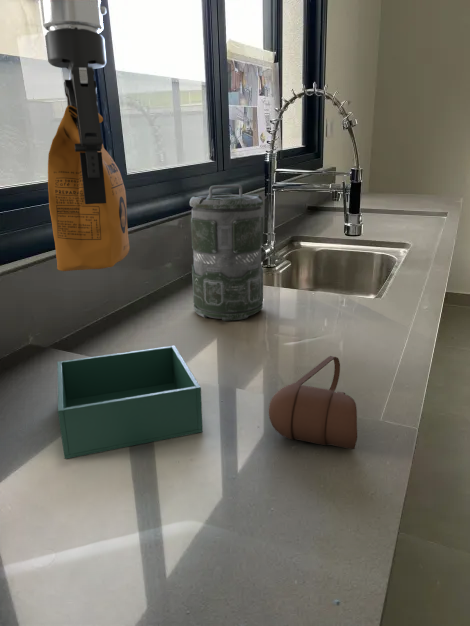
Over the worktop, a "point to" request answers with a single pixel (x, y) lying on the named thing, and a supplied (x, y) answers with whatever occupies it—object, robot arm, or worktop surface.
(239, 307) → the canister
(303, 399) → the brown strapped handbag
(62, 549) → the worktop surface
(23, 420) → the worktop surface
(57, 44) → the robot arm
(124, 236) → the coffee package
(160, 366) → the green open box
